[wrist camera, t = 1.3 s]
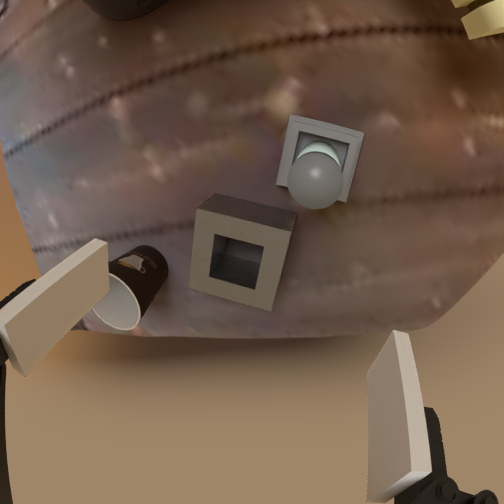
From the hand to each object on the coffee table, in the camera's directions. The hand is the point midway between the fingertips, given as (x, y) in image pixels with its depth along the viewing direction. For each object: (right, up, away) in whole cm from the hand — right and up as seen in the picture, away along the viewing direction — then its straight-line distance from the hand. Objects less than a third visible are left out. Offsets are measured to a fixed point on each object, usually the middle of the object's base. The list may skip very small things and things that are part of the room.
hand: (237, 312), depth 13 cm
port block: (0, +4, +26) cm, 27 cm away
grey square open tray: (+8, +13, +20) cm, 25 cm away
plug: (+8, +12, +19) cm, 24 cm away
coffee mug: (-15, +2, +32) cm, 35 cm away
